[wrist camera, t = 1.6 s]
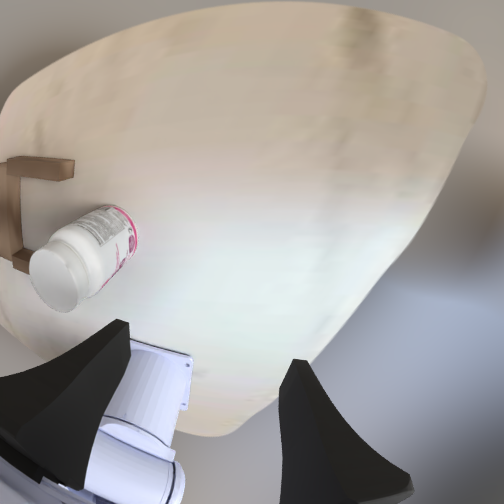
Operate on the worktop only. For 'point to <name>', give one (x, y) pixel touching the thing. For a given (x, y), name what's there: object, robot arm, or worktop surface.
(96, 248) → the pill bottle
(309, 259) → the worktop surface
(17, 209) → the notched board
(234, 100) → the worktop surface
